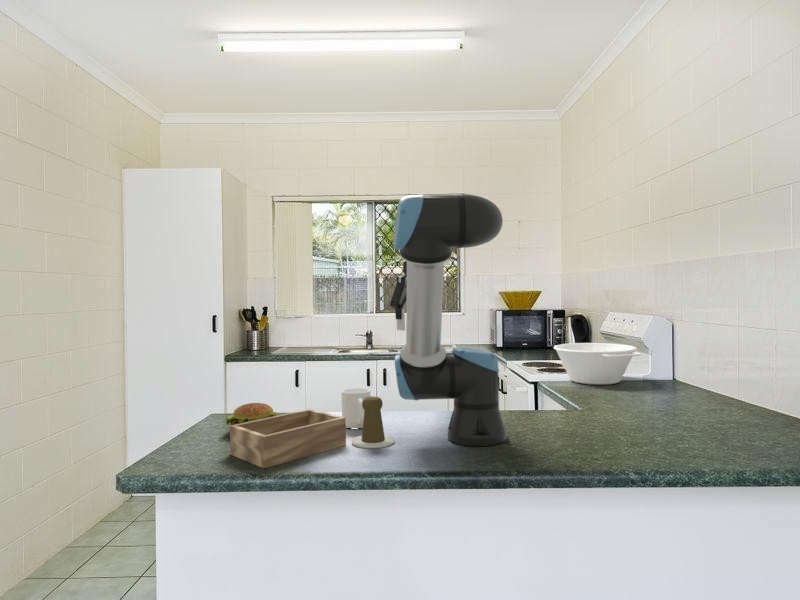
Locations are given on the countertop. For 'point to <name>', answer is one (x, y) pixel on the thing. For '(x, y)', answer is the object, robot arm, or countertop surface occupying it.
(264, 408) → the food
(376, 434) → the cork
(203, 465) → the countertop surface
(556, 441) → the countertop surface
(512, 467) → the countertop surface
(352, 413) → the mug
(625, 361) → the pot
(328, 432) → the access box
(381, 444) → the coaster
